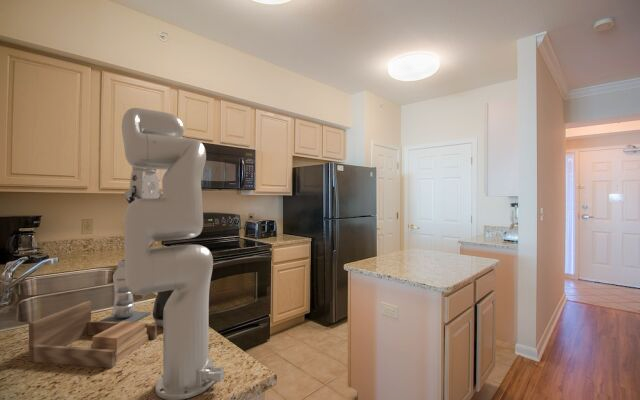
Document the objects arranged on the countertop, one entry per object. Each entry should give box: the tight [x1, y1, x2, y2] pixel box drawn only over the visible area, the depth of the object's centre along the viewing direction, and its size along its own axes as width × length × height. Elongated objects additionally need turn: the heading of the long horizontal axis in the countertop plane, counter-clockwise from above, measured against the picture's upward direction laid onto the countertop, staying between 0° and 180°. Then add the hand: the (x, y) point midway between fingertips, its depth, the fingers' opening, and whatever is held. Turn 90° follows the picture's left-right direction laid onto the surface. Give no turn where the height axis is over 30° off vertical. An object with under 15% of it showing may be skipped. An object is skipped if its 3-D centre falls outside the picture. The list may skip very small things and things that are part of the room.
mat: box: [99, 310, 152, 322], centre depth 107 cm, size 12×12×1 cm
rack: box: [28, 300, 158, 369], centre depth 86 cm, size 24×17×10 cm
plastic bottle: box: [112, 259, 136, 318], centre depth 108 cm, size 6×7×20 cm
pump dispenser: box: [152, 290, 174, 328], centre depth 103 cm, size 10×10×15 cm
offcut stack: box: [90, 321, 149, 363], centre depth 86 cm, size 8×12×6 cm, turn 172°
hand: (144, 215), depth 111 cm, fingers open, 9 cm apart
